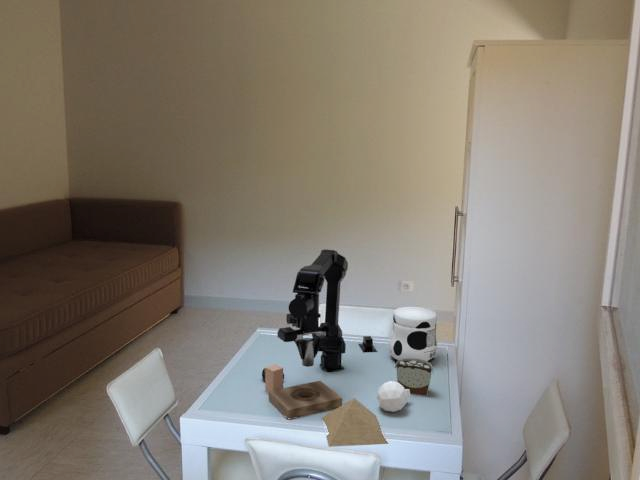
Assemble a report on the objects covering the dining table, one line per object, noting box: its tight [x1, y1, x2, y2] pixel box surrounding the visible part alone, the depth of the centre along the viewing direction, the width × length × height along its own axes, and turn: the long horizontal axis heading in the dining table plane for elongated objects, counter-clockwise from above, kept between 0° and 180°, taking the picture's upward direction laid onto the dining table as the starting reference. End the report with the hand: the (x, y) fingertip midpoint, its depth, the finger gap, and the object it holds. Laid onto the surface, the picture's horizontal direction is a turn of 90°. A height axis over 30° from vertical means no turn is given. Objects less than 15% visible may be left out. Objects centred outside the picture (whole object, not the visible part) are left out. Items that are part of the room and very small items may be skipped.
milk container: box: [389, 306, 438, 364], centre depth 213 cm, size 17×17×18 cm
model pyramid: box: [321, 397, 389, 448], centre depth 162 cm, size 17×17×10 cm
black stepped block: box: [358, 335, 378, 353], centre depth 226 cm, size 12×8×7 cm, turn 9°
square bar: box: [264, 364, 284, 394], centre depth 185 cm, size 4×4×8 cm
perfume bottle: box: [376, 380, 411, 413], centre depth 175 cm, size 9×9×12 cm
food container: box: [394, 358, 434, 398], centre depth 188 cm, size 12×6×10 cm, turn 71°
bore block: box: [268, 380, 343, 419], centre depth 177 cm, size 18×14×3 cm
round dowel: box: [301, 337, 315, 368], centre depth 180 cm, size 4×4×8 cm
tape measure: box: [261, 368, 285, 381], centre depth 194 cm, size 7×7×4 cm
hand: (308, 358), depth 180 cm, fingers closed on round dowel, 4 cm apart
